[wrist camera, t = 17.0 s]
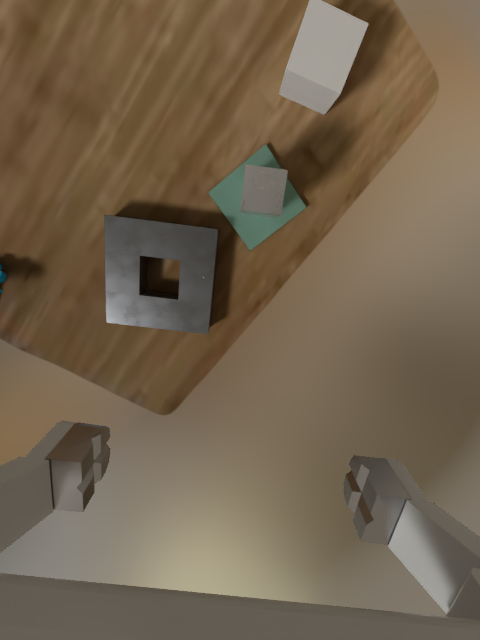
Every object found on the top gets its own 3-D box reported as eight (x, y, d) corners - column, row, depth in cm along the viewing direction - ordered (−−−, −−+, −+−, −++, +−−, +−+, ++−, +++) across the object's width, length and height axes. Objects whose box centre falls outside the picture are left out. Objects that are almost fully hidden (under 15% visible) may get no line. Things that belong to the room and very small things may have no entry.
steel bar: (240, 213, 38) (240, 209, 28) (244, 180, 37) (245, 164, 27) (271, 217, 38) (280, 215, 28) (275, 184, 37) (287, 170, 27)
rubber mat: (208, 193, 38) (208, 192, 37) (265, 145, 36) (265, 144, 35) (250, 250, 40) (250, 250, 39) (305, 207, 38) (306, 207, 38)
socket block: (115, 315, 43) (106, 322, 40) (114, 215, 39) (104, 214, 36) (210, 327, 43) (208, 334, 40) (219, 229, 39) (218, 229, 36)
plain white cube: (347, 58, 33) (369, 23, 28) (324, 115, 35) (340, 93, 29) (299, 35, 33) (311, -6, 27) (278, 94, 34) (285, 68, 29)
